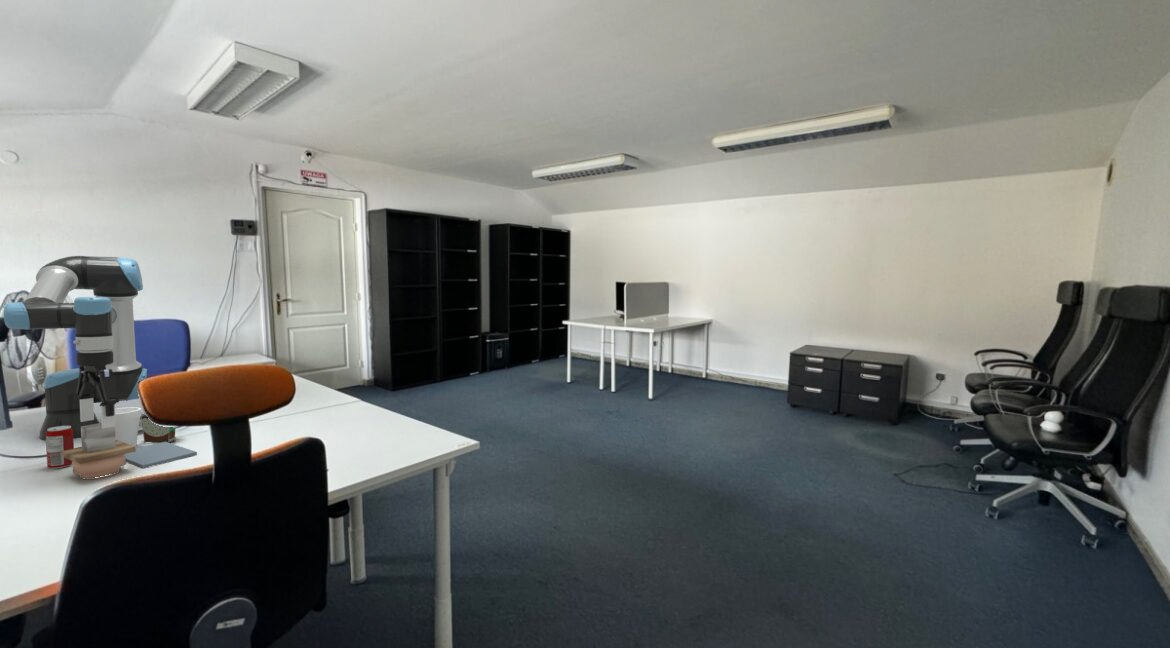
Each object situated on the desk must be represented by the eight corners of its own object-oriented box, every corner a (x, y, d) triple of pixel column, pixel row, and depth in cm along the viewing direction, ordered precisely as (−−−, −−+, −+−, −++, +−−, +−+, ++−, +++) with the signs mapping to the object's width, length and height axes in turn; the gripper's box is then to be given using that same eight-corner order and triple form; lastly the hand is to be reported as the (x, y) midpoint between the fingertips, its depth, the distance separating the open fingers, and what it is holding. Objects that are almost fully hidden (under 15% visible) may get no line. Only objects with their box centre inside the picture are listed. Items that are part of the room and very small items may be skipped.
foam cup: (98, 454, 156) (96, 415, 155) (109, 446, 164) (108, 408, 163) (137, 451, 161) (135, 412, 160) (146, 442, 169) (145, 406, 168)
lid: (61, 456, 138) (60, 427, 138) (116, 444, 149) (115, 417, 149) (80, 464, 133) (78, 433, 133) (135, 451, 144) (134, 423, 143)
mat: (112, 456, 155) (112, 453, 155) (165, 444, 168) (165, 441, 168) (143, 468, 147) (143, 465, 147) (196, 454, 159) (196, 451, 159)
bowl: (65, 476, 139) (64, 455, 139) (115, 464, 149) (115, 445, 149) (82, 484, 134) (81, 463, 134) (133, 471, 144) (132, 451, 144)
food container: (188, 438, 174) (187, 411, 174) (172, 444, 168) (171, 416, 168) (157, 436, 176) (156, 409, 175) (140, 442, 169) (139, 414, 169)
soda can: (73, 461, 150) (71, 423, 149) (75, 466, 147) (73, 427, 146) (46, 466, 146) (44, 427, 145) (48, 470, 143) (46, 430, 142)
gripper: (58, 348, 141) (61, 420, 142) (97, 355, 130) (100, 433, 131) (92, 346, 148) (95, 415, 149) (132, 353, 137) (135, 427, 138)
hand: (97, 424), depth 140 cm, fingers open, 13 cm apart
